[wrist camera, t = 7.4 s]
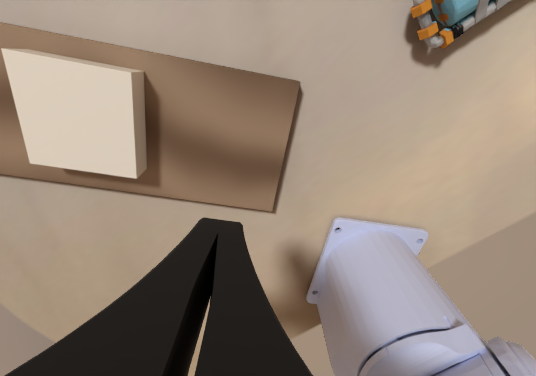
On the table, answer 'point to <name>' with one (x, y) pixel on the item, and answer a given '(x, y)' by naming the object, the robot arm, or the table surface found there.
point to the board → (173, 124)
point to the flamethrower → (451, 18)
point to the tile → (79, 112)
